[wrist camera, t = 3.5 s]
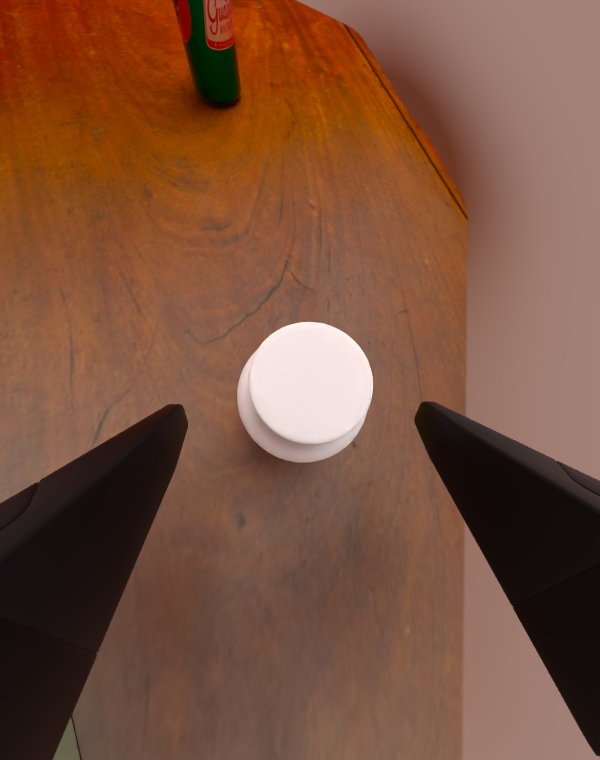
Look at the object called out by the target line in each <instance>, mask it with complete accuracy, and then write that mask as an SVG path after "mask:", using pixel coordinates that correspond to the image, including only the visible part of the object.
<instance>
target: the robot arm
mask: <svg viewBox="0 0 600 760" xmlns="http://www.w3.org/2000/svg"><path fill="white" fill-rule="evenodd" d="M414 421H415V425H416V427H417V429H418V432H419V434H420V436H421V439H422V441H423V443H424V446H425V448H426V450H427V453H428V455H429V457H430V459H431V461H432V463H433V465H434V466H435V468H436V470H437V472H438V474H439V475H440V477H441V479H442V481H443V483H444V484H445V486H446V488H447V490H448V492H449V493H450V495H451V497H452V499H453V501H454V502H455V504H456V506H457V508H458V510H459V511H460V513H461V515H462V517H463V519H464V520H465V522H466V524H467V526H468V528H469V529H470V531H471V533H472V535H473V537H474V538H475V540H476V542H477V544H478V546H479V547H480V549H481V551H482V553H483V554H484V556H485V558H486V560H487V562H488V563H489V565H490V567H491V569H492V571H493V573H494V574H495V576H496V578H497V580H498V582H499V583H500V585H501V587H502V589H503V591H504V592H505V594H506V596H507V598H508V600H509V601H510V603H511V605H512V606H513V609H514V611H515V612H516V614H517V616H518V618H519V620H520V622H521V623H522V625H523V627H524V629H525V631H526V632H527V634H528V636H529V638H530V639H531V641H532V643H533V645H534V647H535V649H536V651H537V652H538V654H539V656H540V658H541V659H542V661H543V663H544V665H545V667H546V669H547V670H548V672H549V674H550V676H551V677H552V679H553V681H554V683H555V685H556V687H557V688H558V690H559V692H560V694H561V696H562V697H563V699H564V701H565V703H566V705H567V706H568V708H569V710H570V712H571V714H572V715H573V717H574V719H575V721H576V723H577V724H578V726H579V728H580V730H581V732H582V733H583V735H584V737H585V739H586V740H587V742H588V744H589V745H590V747H591V748H592V750H593V751H594V753H595V754H596V755H597V756H600V481H599V480H597V479H595V478H592V477H591V476H588V475H586V474H584V473H582V472H580V471H578V470H575V469H573V468H571V467H569V466H567V465H565V464H563V463H561V462H559V461H555V460H554V459H552V458H550V457H548V456H546V455H544V454H542V453H540V452H538V451H535V450H534V449H532V448H529V447H527V446H525V445H523V444H521V443H519V442H517V441H515V440H513V439H511V438H509V437H506V436H504V435H502V434H500V433H498V432H496V431H494V430H492V429H490V428H488V427H486V426H483V425H481V424H479V423H477V422H475V421H473V420H471V419H469V418H467V417H465V416H463V415H461V414H458V413H456V412H454V411H452V410H450V409H448V408H446V407H444V406H442V405H440V404H438V403H435V402H422V403H421V404H420V406H419V409H418V411H417V413H416V415H415V419H414ZM187 428H188V421H187V418H186V414H185V411H184V408H183V406H182V405H180V404H169V405H167V406H165V407H163V408H162V409H160V410H158V411H157V412H155V413H153V414H151V415H150V416H148V417H146V418H145V419H143V420H141V421H140V422H138V423H136V424H135V425H133V426H131V427H129V428H128V429H126V430H124V431H123V432H121V433H119V434H118V435H116V436H114V437H112V438H111V439H109V440H107V441H106V442H104V443H102V444H101V445H99V446H97V447H96V448H94V449H92V450H90V451H89V452H87V453H85V454H84V455H82V456H80V457H79V458H77V459H75V460H74V461H72V462H70V463H68V464H67V465H65V466H63V467H62V468H60V469H58V470H57V471H55V472H53V473H51V474H50V475H48V476H46V477H45V478H43V479H41V480H40V482H39V483H34V484H33V485H31V486H29V487H28V488H26V489H24V490H23V491H21V492H19V493H18V494H16V495H14V496H12V497H11V498H9V499H7V500H6V501H4V502H2V503H0V760H53V758H54V756H55V753H56V751H57V749H58V746H59V744H60V741H61V739H62V737H63V734H64V732H65V730H66V727H67V725H68V723H69V720H70V718H71V715H72V713H73V711H74V708H75V706H76V704H77V701H78V699H79V696H80V694H81V692H82V689H83V687H84V685H85V682H86V680H87V677H88V675H89V673H90V670H91V668H92V666H93V663H94V661H95V659H96V656H97V654H96V653H97V652H98V651H99V648H100V646H101V644H102V641H103V639H104V637H105V634H106V632H107V630H108V627H109V625H110V622H111V620H112V618H113V615H114V613H115V611H116V608H117V606H118V603H119V601H120V599H121V596H122V594H123V592H124V589H125V587H126V584H127V582H128V580H129V577H130V575H131V573H132V570H133V568H134V566H135V563H136V561H137V558H138V556H139V554H140V551H141V549H142V547H143V544H144V542H145V539H146V537H147V535H148V532H149V530H150V528H151V525H152V523H153V521H154V518H155V516H156V513H157V511H158V509H159V506H160V504H161V502H162V499H163V497H164V494H165V492H166V490H167V487H168V485H169V483H170V480H171V478H172V476H173V473H174V471H175V468H176V465H177V462H178V459H179V455H180V452H181V448H182V445H183V442H184V438H185V435H186V431H187Z"/></svg>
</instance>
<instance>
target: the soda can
mask: <svg viewBox="0 0 600 760" xmlns="http://www.w3.org/2000/svg"><path fill="white" fill-rule="evenodd" d="M173 4H174V8H175V12H176V16H177V20H178V24H179V28H180V32H181V36H182V40H183V44H184V48H185V52H186V56H187V60H188V64H189V68H190V72H191V76H192V80H193V84H194V88H195V90H196V91H197V93H198V94H199V95H200V97H201V98H202V99H203V100H204V101H205V102H207V103H209V104H211V105H214V106H228V105H231V104H233V103H234V102H235V101H236V100H237V98H238V96H239V94H240V91H241V85H240V76H239V68H238V59H237V50H236V42H235V33H234V24H233V15H232V7H231V0H173Z"/></svg>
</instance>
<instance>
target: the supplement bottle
mask: <svg viewBox="0 0 600 760" xmlns="http://www.w3.org/2000/svg"><path fill="white" fill-rule="evenodd" d="M372 392H373V377H372V372H371V368H370V365H369V363H368V360H367V358H366V356H365V354H364V353H363V351H362V350H361V348H360V347H359V346H358V344H357V343H356V342H355V341H354V340H353V339H352V338H350V337H349V336H348V335H347V334H345V333H344V332H342V331H340V330H339V329H337V328H334V327H332V326H329V325H326V324H322V323H315V322H300V323H295V324H292V325H288V326H285V327H283V328H281V329H279V330H277V331H276V332H274V333H273V334H271V335H270V336H269V337H268V338H267V339H266V340H265V341H264V342H263V343H262V344H261V346H260V347H259V348H258V349H257V350H256V351H255V352H254V354H253V355H252V356H251V357H250V359H249V360H248V362H247V363H246V365H245V367H244V369H243V371H242V373H241V376H240V379H239V383H238V390H237V403H238V409H239V414H240V417H241V420H242V422H243V424H244V427H245V428H246V430H247V432H248V433H249V435H250V436H251V437H252V439H253V440H254V441H255V442H256V443H257V444H258V445H259V446H260V447H261V448H263V449H264V450H266V451H267V452H269V453H270V454H272V455H274V456H276V457H278V458H281V459H284V460H287V461H292V462H301V463H308V462H315V461H320V460H323V459H326V458H329V457H331V456H333V455H335V454H337V453H338V452H340V451H341V450H343V449H344V448H345V447H346V446H347V445H349V444H350V443H351V441H352V440H353V439H354V438H355V437H356V435H357V434H358V432H359V431H360V429H361V427H362V425H363V423H364V420H365V417H366V414H367V410H368V408H369V406H370V402H371V398H372Z"/></svg>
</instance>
